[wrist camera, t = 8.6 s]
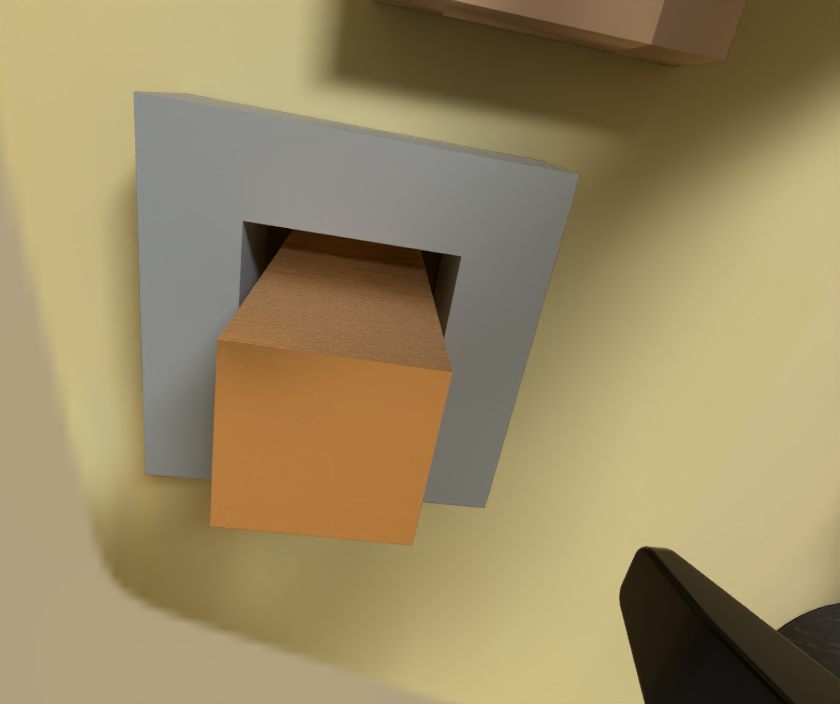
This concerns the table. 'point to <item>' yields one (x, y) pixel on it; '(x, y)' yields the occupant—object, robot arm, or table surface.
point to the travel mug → (818, 636)
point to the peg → (330, 394)
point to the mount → (610, 24)
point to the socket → (346, 217)
